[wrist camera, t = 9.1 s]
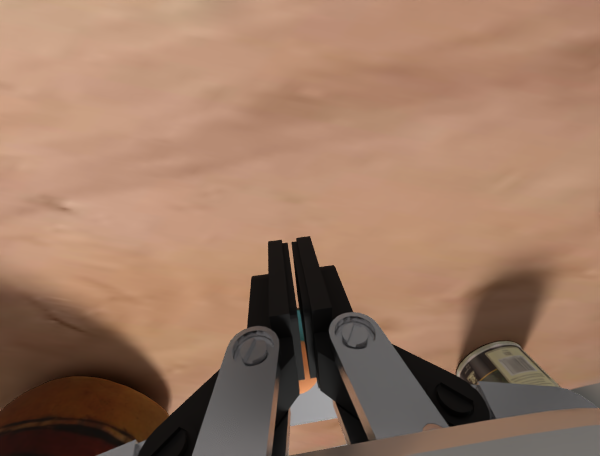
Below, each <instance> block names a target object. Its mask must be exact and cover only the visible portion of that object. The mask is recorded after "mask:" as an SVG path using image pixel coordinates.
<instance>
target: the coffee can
mask: <svg viewBox="0 0 600 456" xmlns="http://www.w3.org/2000/svg"><path fill="white" fill-rule="evenodd" d="M456 376H458V377H460V378H461V379H463V380H464V381H466V382H468V383H469V384H470V385H477V382H478V381H485V382H499V383H513V384H527V385H541V386H555V387H560V386H559V385H558V384H557V383H556V382H555V381H554V380H553V379H552V378H551V377H550V376H549V375H548V374H547V373H546V372H545V371H544V370H543V369H542V368H541V367H540V366H539V365H538V364H537V363H536V362H535V361H534V360H533V359H532V358H531V357H530V356H529V355H528V354H527V353H526V352H525V351H524V350H523V349H522V348H521V346H519V345H518V344H517V343H515V342H511V341H499V342H494V343H490V344H487V345H485V346H482V347H480V348H479V349H477V350H475V351H473V352H472V353H471V354H469V355H468V356H467V357H466V358H465V359H464V360H463V361H462V362H461V363H460V365H459V367H458V369H457V373H456ZM560 388H561V387H560Z"/></svg>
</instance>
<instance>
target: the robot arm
mask: <svg viewBox="0 0 600 456" xmlns="http://www.w3.org/2000/svg"><path fill="white" fill-rule="evenodd" d="M296 240H297V242H292V250H293V259H294V268H295V277H296V286H297V295H298V302H299V309H300V315H301V322H302V328H303V335H304V341H305V348H306V354H307V361H308V367H309V374H310V379H311V378H317V384H318V388H320V391H321V392H323V393H324V394H325V395H327V396H328V397H330V398H331V399H332V402H333V407H334V409H335V412H336V415H337V418H338V421H339V423H340V426H341V429H342V432H343V434H344V437H345V440H346V443H347V445H346V446H340V447H335V448H329V449H324V450H318V451H313V452H307V453H302V454H296V455H291V456H600V408H597V407H596V406H595V405H594V404H593V403H591V402H590V401H588V400H587V399H586V398H584V397H582V396H581V395H579V394H577V393H575V392H572V391H570V390H568V389H564V388H560V387H555V386H541V385H527V384H513V383H499V382H485V381H478V382H477V385H470V384H469V383H468V382H466V381H464V380H463V379H461V378H460V377H458V376H456V375H454V374H452V373H450V372H448V371H446V370H444V369H442V368H440V367H438V366H436V365H434V364H432V363H430V362H428V361H425V360H423V359H421V358H419V357H417V356H415V355H413V354H411V353H409V352H407V351H405V350H403V349H401V348H399V347H397V346H395V345H393V344H391V342H390V341H389V340H388V338H387V337H386V335H385V334H384V332H383V331H382V330H381V328H380V327H379V325H378V324H377V323H376V322H375V321H374V320H373V319H372V318H370V317H369V316H367V315H364V314H361V313H355V312H353V311H352V308H351V306H350V303H349V301H348V298H347V296H346V293H345V291H344V288H343V286H342V283H341V281H340V278H339V276H338V273H337V271H336V268H335V266H334V265H332V266H324V267H319V264H318V261H317V258H316V254H315V251H314V248H313V245H312V241H311V238H310V236H308V237H300V238H296ZM268 271H269V274H265V275H258V276H252V279H251V289H250V301H249V313H248V325H247V329H244V330H242V331H241V332H239V333H238V334H236V335H235V336H234V338H233V339H232V340H231V341H230V343H229V345H228V347H227V350H226V353H225V356H224V359H223V362H222V365H221V368H220V369H219V370H218V371H217V372H216V373H215V374H214V375H213V376H212V377H211V378H210V379H209V380H208V381H207V382H206V383H204V384H203V385H202V386H201V387H200V388H199V389H198V390H197V391H196V392H195V393H194V394H193V395H192V396H190V397H189V398H188V399H187V400H186V401H185V402H184V403H183V404H182V405H181V406H180V407H179V408H178V409H177V410H175V411H174V412H173V413H172V414H171V415H170V416H169V417H168V418H167V419H166V420H165V421H164V422H163V423H161V424H160V425H159V426H158V427H157V428H156V429H155V430H154V431H153V433H152V434H151V435H150V436H149V437H148V438H147V440H145V441H142V442H140V443H138V442H137V441H136V440H133V441H131V442H128V443H126V444H124V445H121V446H119V447H116V448H114V449H111V450H109V451H106V452H104V453H102V454H99V455H97V456H288V453H289V436H290V420H291V409H290V407H291V406H292V404H293V403H294V401H295V400H296V399H297V397H298V396H299V395H300V388H299V380H305V374H304V366H303V357H302V349H301V340H300V331H299V323H298V315H297V307H296V300H295V293H294V286H293V279H292V272H291V264H290V257H289V250H288V243H282V240H277V241H269V242H268Z"/></svg>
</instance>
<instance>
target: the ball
mask: <svg viewBox="0 0 600 456" xmlns="http://www.w3.org/2000/svg"><path fill="white" fill-rule="evenodd" d="M301 349H302V357H303V366H304V374H305V380H299V388H300V394H302V393H305V392H307V391H308V390H310V389H311V388H312V387H313V386H314V385H315V383H316V382H317V378H311V379H310V374H309V367H308V361H307V354H306V348H305V342H304V341H301Z"/></svg>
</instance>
